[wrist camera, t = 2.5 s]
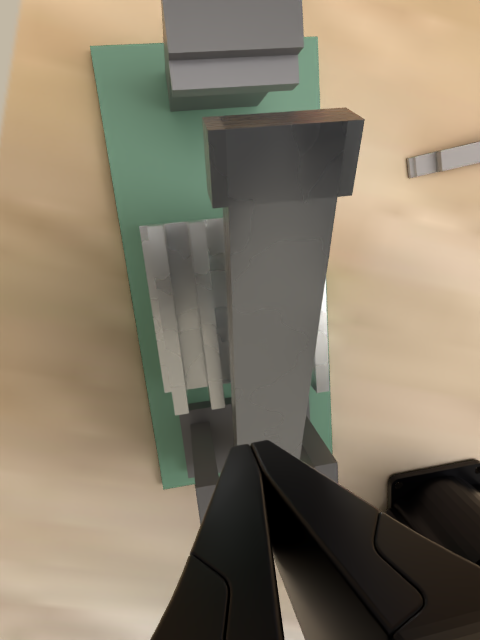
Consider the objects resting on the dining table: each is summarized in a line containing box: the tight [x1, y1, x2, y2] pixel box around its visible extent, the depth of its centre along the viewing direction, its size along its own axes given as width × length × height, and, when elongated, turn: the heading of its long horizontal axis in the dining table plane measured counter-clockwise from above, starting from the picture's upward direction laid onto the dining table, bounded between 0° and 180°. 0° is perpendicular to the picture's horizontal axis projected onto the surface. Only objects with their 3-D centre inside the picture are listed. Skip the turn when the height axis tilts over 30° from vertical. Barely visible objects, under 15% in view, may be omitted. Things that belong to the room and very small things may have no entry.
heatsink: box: [139, 218, 330, 415], centre depth 19 cm, size 8×8×4 cm
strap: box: [202, 108, 365, 459], centre depth 14 cm, size 3×16×2 cm, turn 5°
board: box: [90, 37, 332, 490], centre depth 21 cm, size 10×22×1 cm, turn 5°
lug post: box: [161, 0, 304, 112], centre depth 15 cm, size 4×2×7 cm, turn 95°
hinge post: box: [179, 397, 338, 524], centre depth 20 cm, size 7×4×6 cm, turn 95°
